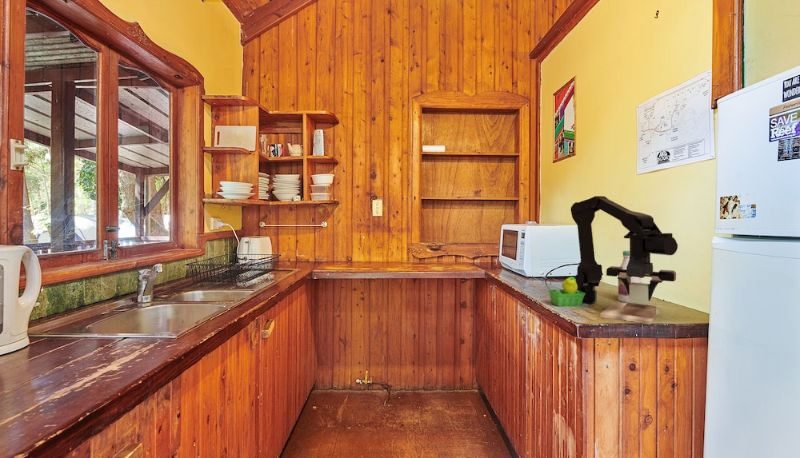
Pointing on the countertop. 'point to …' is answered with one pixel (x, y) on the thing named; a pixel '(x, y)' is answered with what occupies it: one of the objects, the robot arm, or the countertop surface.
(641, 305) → the base block
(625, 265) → the milk bottle
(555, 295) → the fruit basket
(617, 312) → the board
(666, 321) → the countertop surface
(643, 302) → the top block
